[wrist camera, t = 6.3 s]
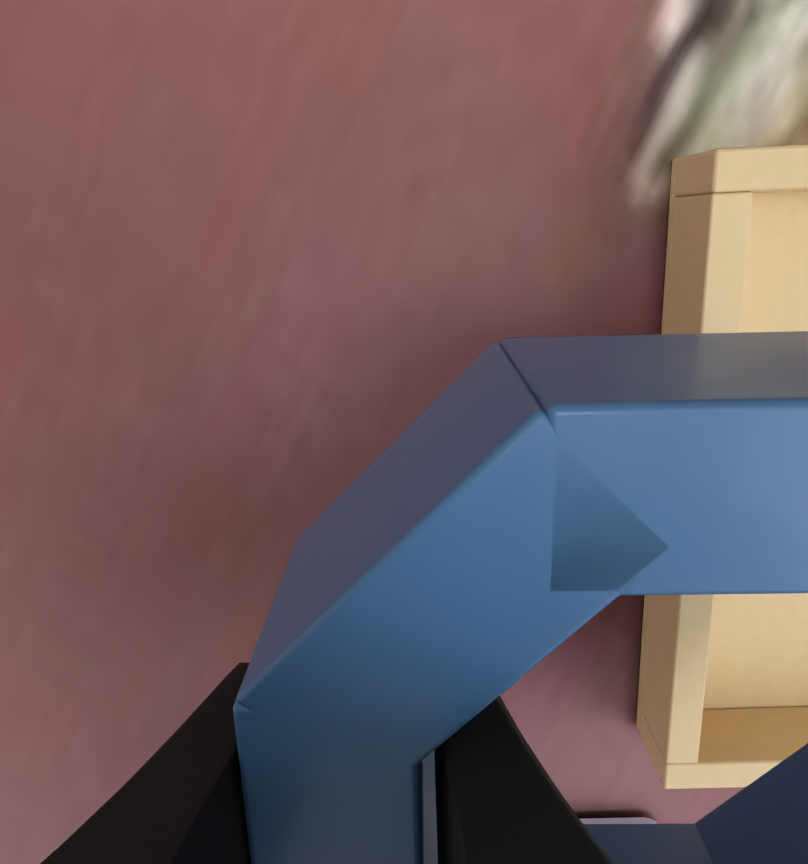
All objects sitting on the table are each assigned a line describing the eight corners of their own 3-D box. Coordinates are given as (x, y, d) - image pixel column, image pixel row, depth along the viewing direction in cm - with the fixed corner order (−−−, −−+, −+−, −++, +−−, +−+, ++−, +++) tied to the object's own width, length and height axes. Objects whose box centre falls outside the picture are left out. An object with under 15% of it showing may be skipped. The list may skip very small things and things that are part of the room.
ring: (899, 904, 12) (1094, 1181, 8) (322, 904, 12) (284, 1171, 9) (1042, 324, 9) (1428, 388, 5) (277, 341, 9) (193, 411, 6)
